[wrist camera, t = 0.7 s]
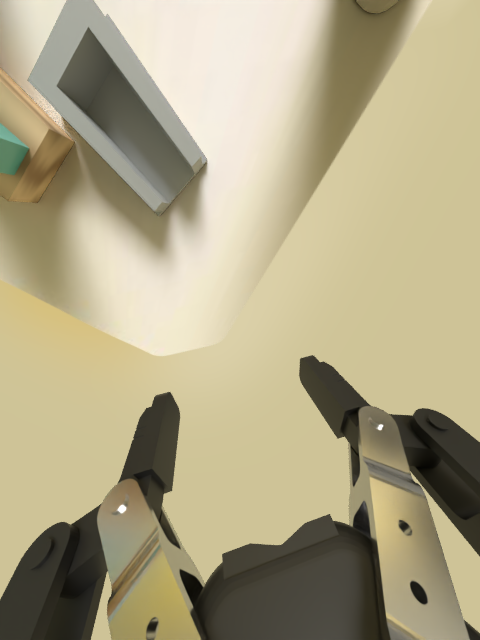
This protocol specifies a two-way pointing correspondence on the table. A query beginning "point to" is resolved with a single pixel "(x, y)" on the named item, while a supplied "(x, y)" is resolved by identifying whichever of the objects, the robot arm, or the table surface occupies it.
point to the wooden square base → (30, 143)
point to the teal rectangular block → (10, 151)
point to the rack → (115, 104)
